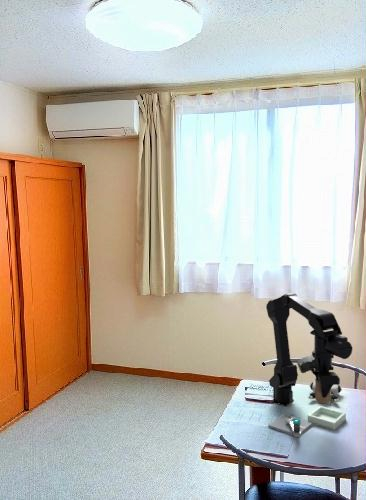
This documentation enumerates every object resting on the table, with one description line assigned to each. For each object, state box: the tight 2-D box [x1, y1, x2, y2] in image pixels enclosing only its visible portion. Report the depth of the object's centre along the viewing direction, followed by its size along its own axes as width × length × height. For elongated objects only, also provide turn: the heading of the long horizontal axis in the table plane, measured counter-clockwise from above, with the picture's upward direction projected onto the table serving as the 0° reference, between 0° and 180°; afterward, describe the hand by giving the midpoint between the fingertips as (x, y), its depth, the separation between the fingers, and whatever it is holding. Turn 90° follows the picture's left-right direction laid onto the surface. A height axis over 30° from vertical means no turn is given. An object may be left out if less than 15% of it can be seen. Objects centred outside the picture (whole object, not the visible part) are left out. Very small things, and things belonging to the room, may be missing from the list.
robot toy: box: [307, 380, 343, 403], centre depth 181 cm, size 12×4×15 cm
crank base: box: [267, 413, 314, 437], centre depth 158 cm, size 11×11×1 cm
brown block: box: [314, 377, 331, 404], centre depth 157 cm, size 4×4×7 cm
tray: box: [307, 405, 347, 431], centre depth 161 cm, size 10×10×2 cm
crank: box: [285, 415, 302, 438], centre depth 154 cm, size 12×4×5 cm, turn 179°
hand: (322, 394), depth 157 cm, fingers closed on brown block, 4 cm apart
